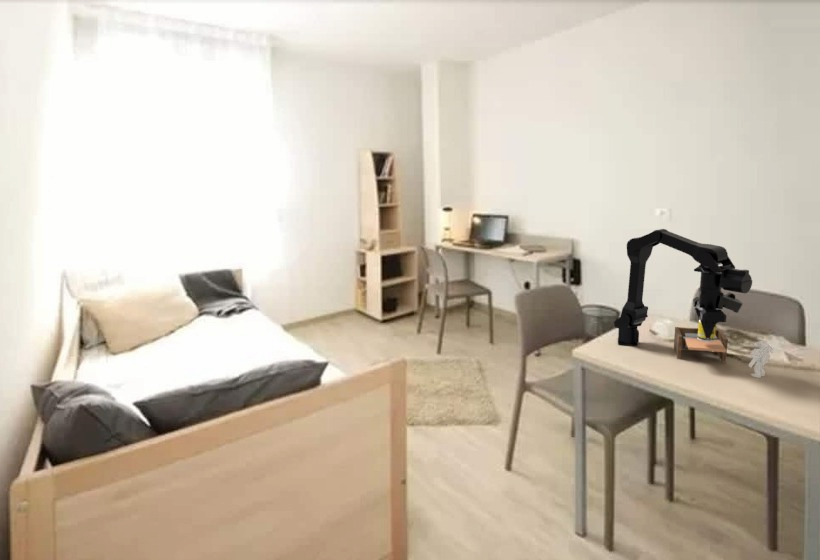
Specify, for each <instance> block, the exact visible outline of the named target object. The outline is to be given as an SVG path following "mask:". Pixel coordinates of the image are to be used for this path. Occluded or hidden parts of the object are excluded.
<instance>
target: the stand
mask: <svg viewBox="0 0 820 560" xmlns="http://www.w3.org/2000/svg"><path fill="white" fill-rule="evenodd" d="M685 333H694V334H698V327H697V328H696V327H684V326H683V327H682V326H680V327H679V326H674V334H673V336H674V337H673V352H674V353H675V356H676V359H677V360H681V357H682V356H681V355H682V351H693V352H702V351H701V350H689V348H686V347H685V345H684V340H683V337H685ZM715 335H716V337H717V339H722V344H723V346H724V347H725V349H726V352H716V354H717V355H718V358H719V360H720V361H721V363H726V362H727V351H728V344H729V343H728V341H729V339H728V338H727V336H726V334H725V333H724V332H723V330H722V329H718V328H716V331H715ZM707 353H713V352H712V351H708V352H707Z"/></svg>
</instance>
